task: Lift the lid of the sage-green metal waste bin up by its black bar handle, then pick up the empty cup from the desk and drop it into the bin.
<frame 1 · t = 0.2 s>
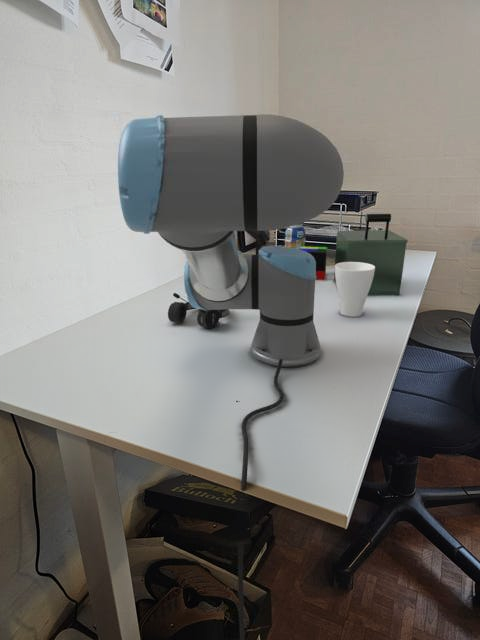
hand: (232, 256, 112), 16 cm above the table, tool tilted 35°, fingers open, 13 cm apart
headset: (200, 320, 110), on the table
puzzle toy: (311, 276, 150), on the table
beverage bottle: (294, 265, 166), on the table
cup: (350, 313, 113), on the table
bin lid: (371, 224, 128), point 21 cm above the table, hinge at 0.0°
bin: (364, 287, 136), on the table
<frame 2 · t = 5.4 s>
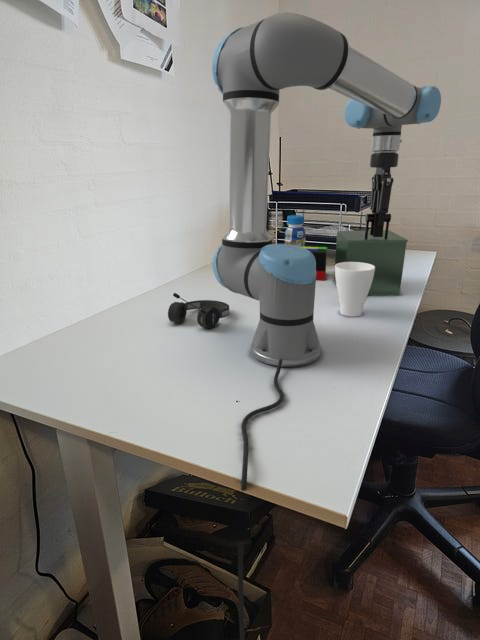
hand: (376, 235, 122), 19 cm above the table, tool pointing down, fingers closed on bin lid, 2 cm apart
bin lid: (371, 224, 128), point 21 cm above the table, hinge at 0.1°, touching gripper
everything else where it was.
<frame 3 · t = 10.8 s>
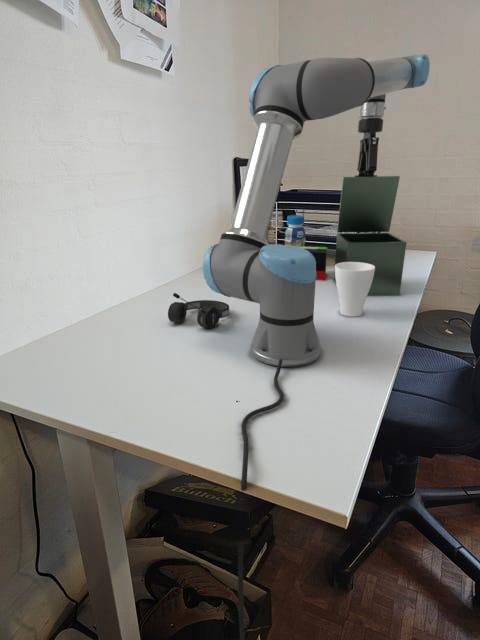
hand: (364, 193, 136), 30 cm above the table, tool pointing down, fingers open, 8 cm apart
bin lid: (364, 201, 135), point 27 cm above the table, hinge at 77.0°, touching gripper
everything else where it was.
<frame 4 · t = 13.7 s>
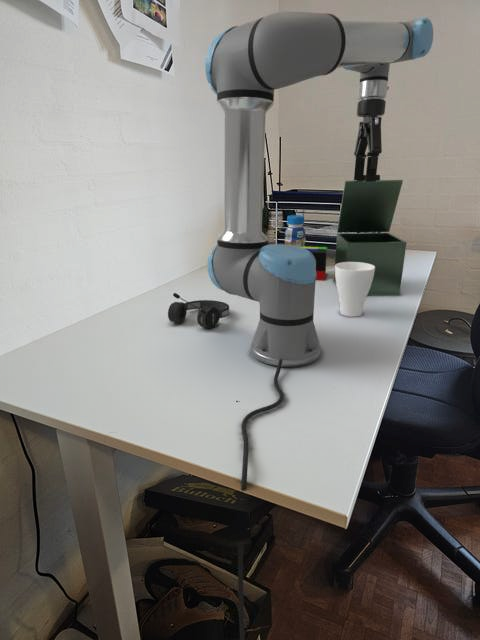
hand: (364, 181, 119), 34 cm above the table, tool pointing down, fingers open, 13 cm apart
bin lid: (366, 201, 134), point 27 cm above the table, hinge at 66.2°, touching gripper
everything else where it was.
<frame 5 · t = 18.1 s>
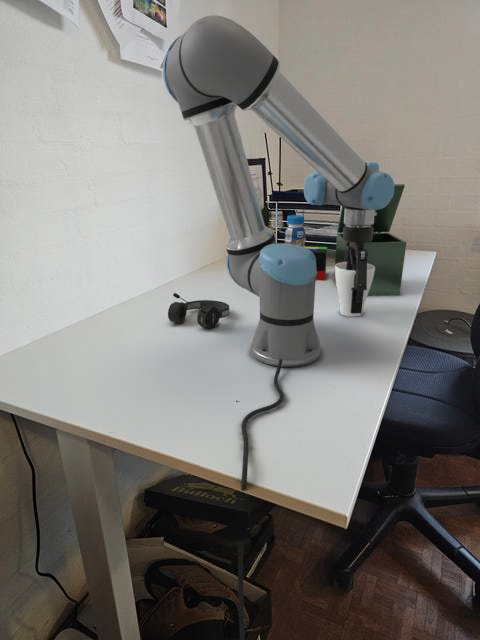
hand: (351, 306, 112), 2 cm above the table, tool pointing down, fingers closed on cup, 10 cm apart
cup: (350, 313, 113), on the table, touching gripper
bin lid: (367, 202, 132), point 27 cm above the table, hinge at 58.2°
everything else where it was.
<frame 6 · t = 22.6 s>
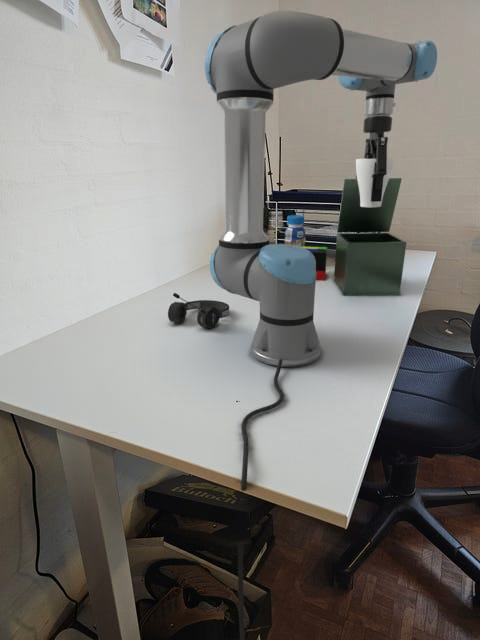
hand: (371, 199, 120), 29 cm above the table, tool pointing down, fingers closed on cup, 10 cm apart
cup: (370, 207, 121), point 27 cm above the table, touching gripper
bin lid: (365, 201, 134), point 27 cm above the table, hinge at 70.8°, touching gripper
everything else where it was.
when the fingers open (20 cm above the table, at t = 38.6 s): cup drops 17 cm, resting on bin.
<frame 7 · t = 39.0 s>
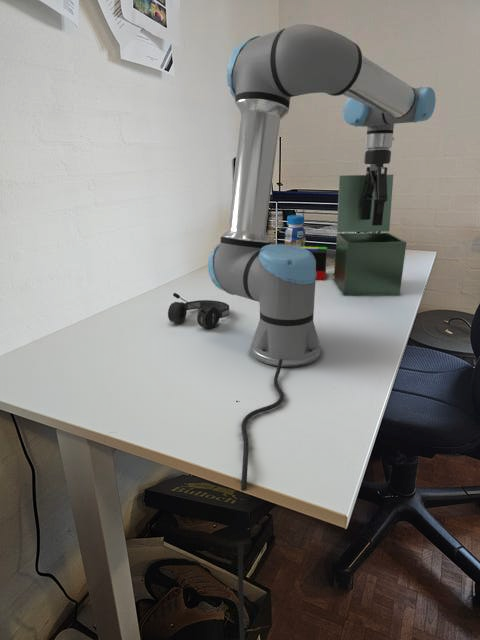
hand: (371, 222, 128), 22 cm above the table, tool pointing down, fingers open, 13 cm apart
cup: (365, 287, 133), point 1 cm above the table, touching bin
bin lid: (361, 204, 139), point 26 cm above the table, hinge at 97.8°, touching gripper
everything else where it was.
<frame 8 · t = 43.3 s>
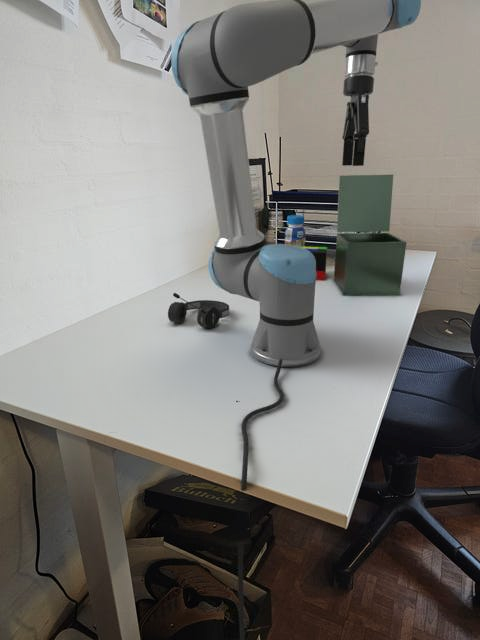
hand: (352, 165, 111), 39 cm above the table, tool pointing down, fingers open, 13 cm apart
bin lid: (361, 204, 139), point 26 cm above the table, hinge at 97.8°
everything else where it was.
at the end: bin lid at +98° (first picture: +0°); cup inside the target area in the bin (2.2 cm from its centre), point 0.6 cm above the bin's base; the gripper is holding nothing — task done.
